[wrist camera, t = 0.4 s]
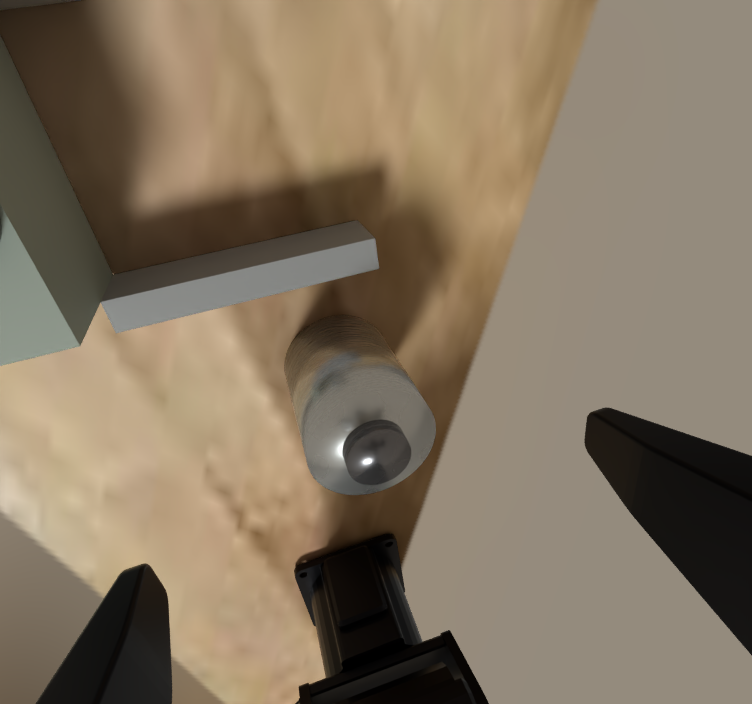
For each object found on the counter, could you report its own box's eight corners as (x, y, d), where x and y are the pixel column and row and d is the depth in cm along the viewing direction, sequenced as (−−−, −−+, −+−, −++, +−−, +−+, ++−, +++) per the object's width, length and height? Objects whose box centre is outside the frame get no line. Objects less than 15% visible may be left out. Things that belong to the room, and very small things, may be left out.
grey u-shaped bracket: (361, 248, 20) (413, 308, 15) (-1, 333, 17) (-86, 440, 12) (311, -80, 14) (367, -161, 9) (-237, -24, 12) (-569, -92, 7)
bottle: (392, 389, 24) (447, 485, 19) (297, 417, 23) (325, 527, 18) (380, 303, 22) (440, 385, 16) (272, 331, 21) (296, 428, 15)
